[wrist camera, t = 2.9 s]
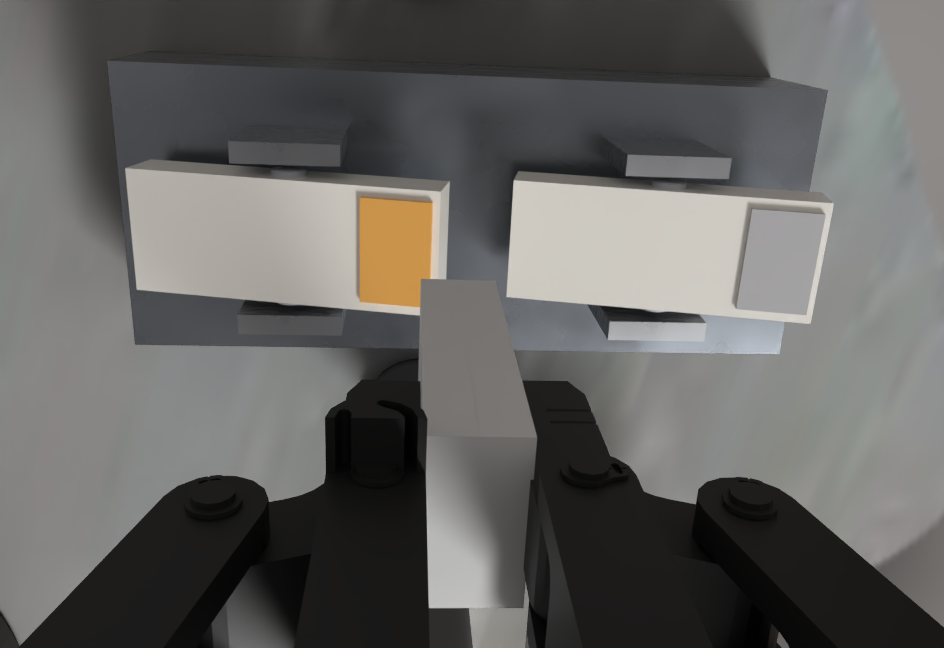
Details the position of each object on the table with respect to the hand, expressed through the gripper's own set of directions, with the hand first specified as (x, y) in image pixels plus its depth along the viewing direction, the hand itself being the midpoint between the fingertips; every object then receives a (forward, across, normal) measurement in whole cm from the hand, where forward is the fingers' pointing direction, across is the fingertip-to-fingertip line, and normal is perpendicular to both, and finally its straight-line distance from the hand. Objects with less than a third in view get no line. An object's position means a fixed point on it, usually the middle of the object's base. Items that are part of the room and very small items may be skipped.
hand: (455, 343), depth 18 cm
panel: (+15, +1, 0) cm, 15 cm away
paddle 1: (+8, -4, 0) cm, 9 cm away
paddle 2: (+8, +6, 0) cm, 11 cm away
